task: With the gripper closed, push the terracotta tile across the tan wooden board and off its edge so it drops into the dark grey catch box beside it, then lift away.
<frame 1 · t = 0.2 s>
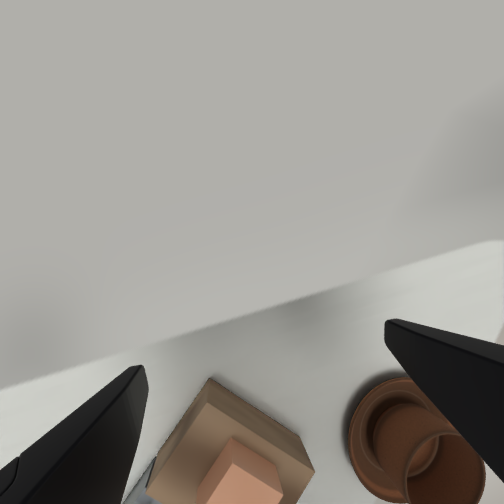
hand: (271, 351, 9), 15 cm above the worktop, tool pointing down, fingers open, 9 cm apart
tan wooden board: (231, 444, 23), on the worktop
tile: (237, 476, 19), point 4 cm above the worktop, touching tan wooden board
cup and saucer: (391, 425, 26), on the worktop
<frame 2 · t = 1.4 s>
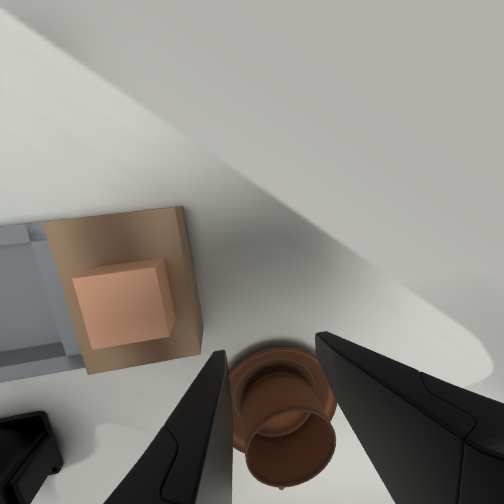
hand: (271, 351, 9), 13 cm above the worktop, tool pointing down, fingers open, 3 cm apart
tan wooden board: (145, 277, 20), on the worktop
catch box: (23, 294, 19), on the worktop
tile: (136, 293, 17), point 4 cm above the worktop, touching tan wooden board
cup and saucer: (273, 389, 25), on the worktop
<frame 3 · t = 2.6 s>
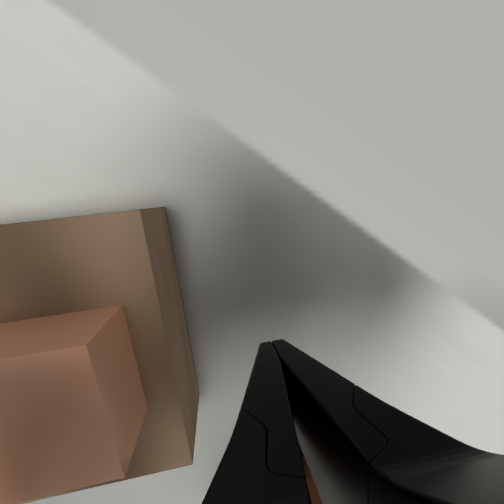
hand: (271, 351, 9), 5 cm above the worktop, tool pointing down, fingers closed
tan wooden board: (106, 320, 13), on the worktop
tile: (72, 370, 9), point 4 cm above the worktop, touching tan wooden board
cup and saucer: (300, 471, 17), on the worktop
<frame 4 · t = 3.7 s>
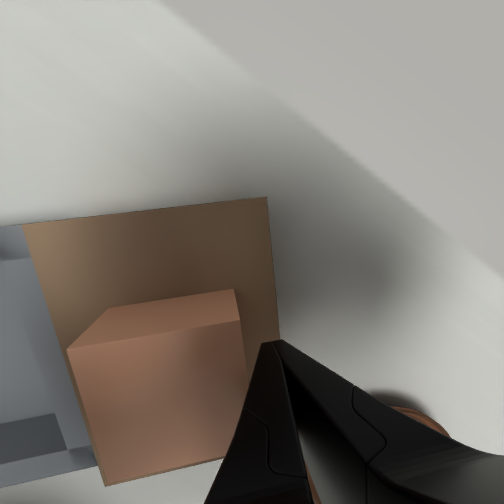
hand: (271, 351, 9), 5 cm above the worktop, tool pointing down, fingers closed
tan wooden board: (190, 308, 13), on the worktop
tile: (183, 351, 9), point 4 cm above the worktop, touching gripper
cup and saucer: (357, 457, 18), on the worktop
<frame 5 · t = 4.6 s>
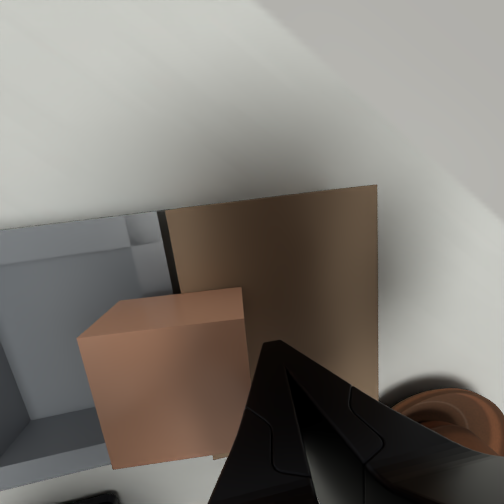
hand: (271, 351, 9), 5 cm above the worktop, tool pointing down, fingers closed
tan wooden board: (268, 295, 14), on the worktop
catch box: (92, 326, 13), on the worktop
tile: (190, 347, 9), point 4 cm above the worktop, touching gripper, tan wooden board
cup and saucer: (410, 439, 19), on the worktop
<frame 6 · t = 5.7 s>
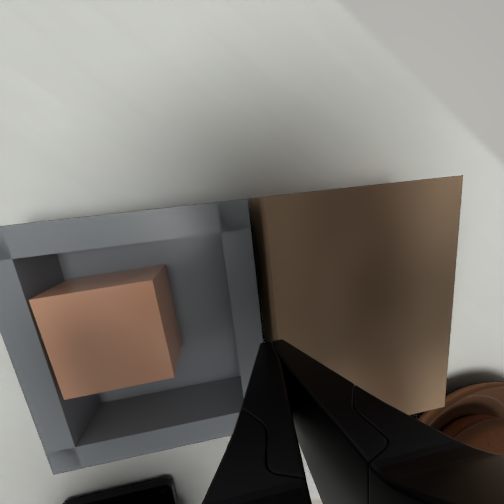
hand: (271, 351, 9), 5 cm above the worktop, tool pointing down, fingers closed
tan wooden board: (327, 286, 14), on the worktop
catch box: (160, 313, 13), on the worktop
tile: (107, 341, 10), point 3 cm above the worktop, tilted 180°, touching catch box
cup and saucer: (451, 433, 19), on the worktop
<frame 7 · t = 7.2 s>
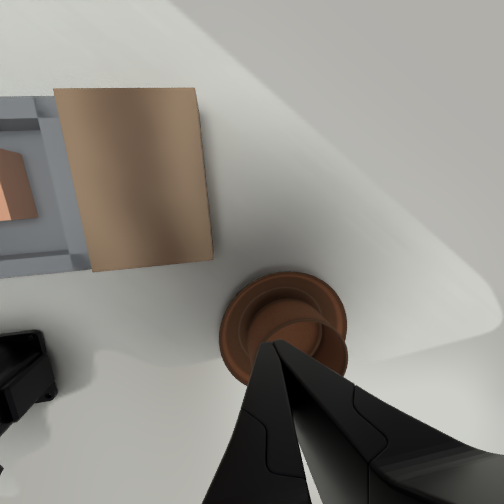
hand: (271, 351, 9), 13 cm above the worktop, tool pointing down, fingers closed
tan wooden board: (156, 187, 19), on the worktop
catch box: (24, 195, 18), on the worktop
cup and saucer: (279, 324, 24), on the worktop
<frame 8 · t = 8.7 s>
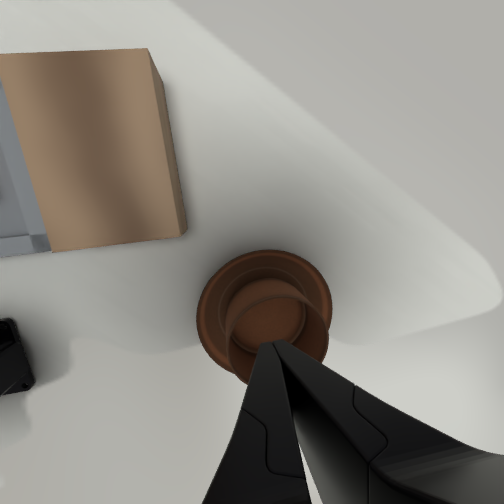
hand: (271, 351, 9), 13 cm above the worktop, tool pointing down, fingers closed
tan wooden board: (122, 165, 19), on the worktop
cup and saucer: (262, 307, 23), on the worktop
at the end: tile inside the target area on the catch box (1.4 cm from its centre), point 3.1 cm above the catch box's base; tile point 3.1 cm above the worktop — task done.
